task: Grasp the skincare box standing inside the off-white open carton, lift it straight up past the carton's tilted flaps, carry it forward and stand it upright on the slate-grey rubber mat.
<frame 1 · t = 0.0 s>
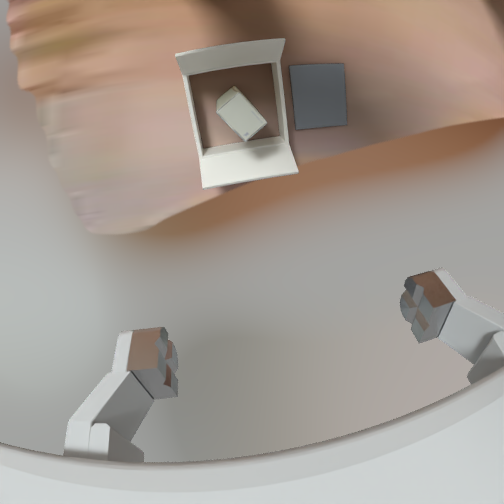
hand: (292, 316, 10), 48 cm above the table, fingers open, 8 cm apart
mat: (319, 95, 49), on the table
carton: (235, 104, 49), on the table
skincare box: (235, 104, 49), resting in carton
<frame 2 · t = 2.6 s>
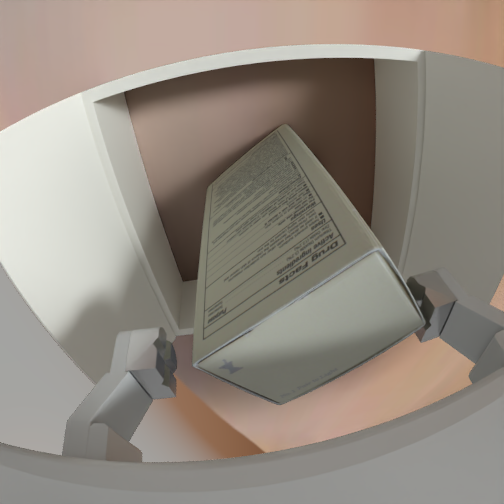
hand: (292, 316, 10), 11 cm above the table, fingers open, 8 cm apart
carton: (267, 176, 18), on the table
skincare box: (267, 175, 18), resting in carton
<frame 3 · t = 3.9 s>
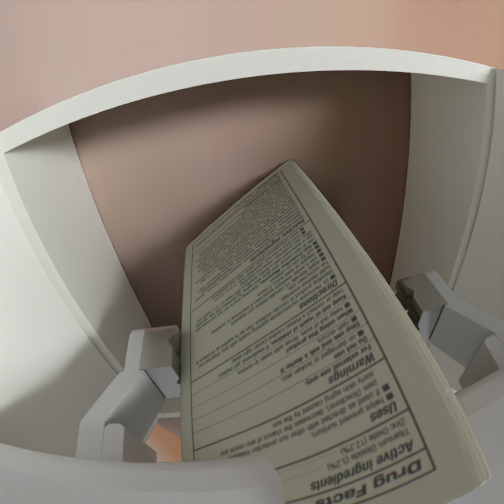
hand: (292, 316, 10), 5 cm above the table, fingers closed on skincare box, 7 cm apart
carton: (266, 230, 14), on the table
skincare box: (265, 227, 14), resting in carton, touching gripper
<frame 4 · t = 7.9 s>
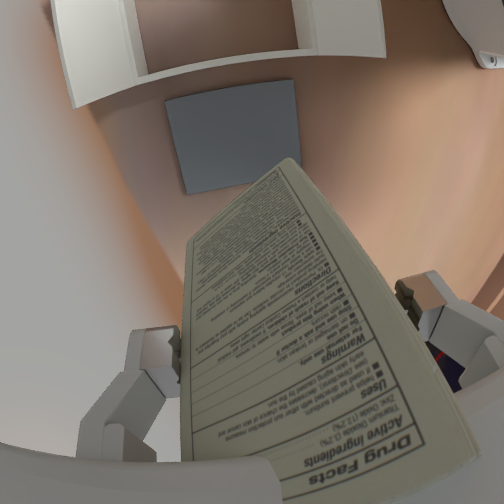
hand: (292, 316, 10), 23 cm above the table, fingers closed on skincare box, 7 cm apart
mat: (236, 136, 29), on the table
dark blue bottle: (445, 327, 56), on the table
skincare box: (264, 223, 14), point 18 cm above the table, touching gripper
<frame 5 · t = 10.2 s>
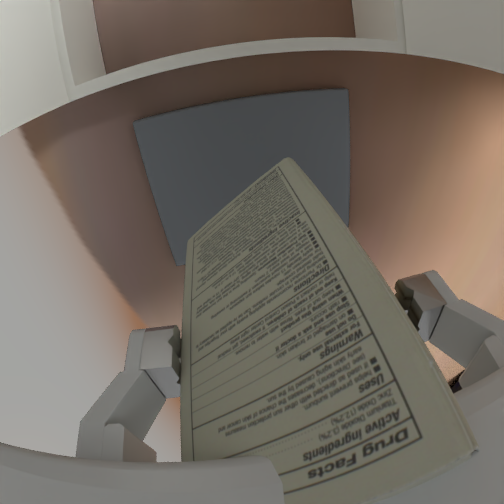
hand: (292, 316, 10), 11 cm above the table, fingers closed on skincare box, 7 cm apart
mat: (252, 178, 18), on the table
skincare box: (264, 222, 14), point 5 cm above the table, touching gripper
when the fingers open (7 cm above the table, at t = 12.1 s): skincare box stays where it is, resting on mat.
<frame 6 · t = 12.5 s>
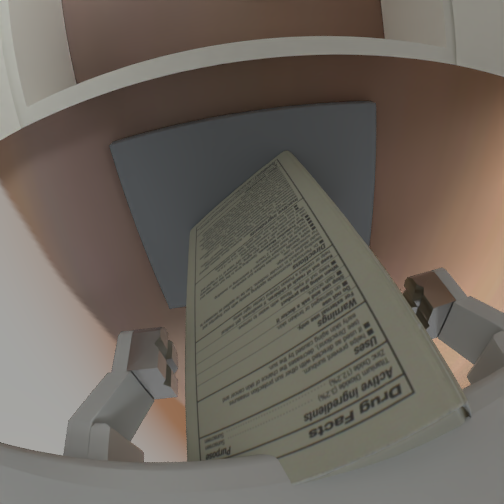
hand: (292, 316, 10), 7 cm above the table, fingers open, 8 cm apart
mat: (258, 210, 15), on the table
skincare box: (263, 213, 15), resting on mat
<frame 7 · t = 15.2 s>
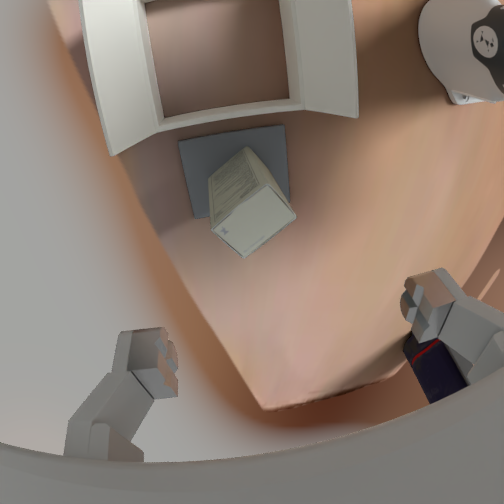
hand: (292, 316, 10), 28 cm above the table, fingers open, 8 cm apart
mat: (236, 171, 36), on the table
carton: (218, 46, 27), on the table
dark blue bottle: (423, 332, 64), on the table
skincare box: (238, 172, 35), resting on mat
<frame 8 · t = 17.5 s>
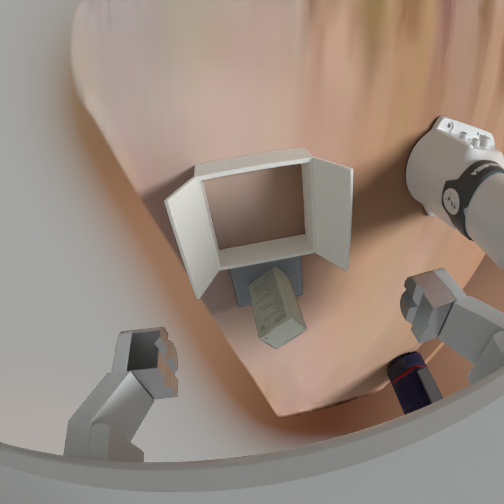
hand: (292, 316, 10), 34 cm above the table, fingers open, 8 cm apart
mat: (267, 278, 54), on the table
carton: (257, 203, 45), on the table
dark blue bottle: (403, 359, 82), on the table
skincare box: (269, 280, 54), resting on mat
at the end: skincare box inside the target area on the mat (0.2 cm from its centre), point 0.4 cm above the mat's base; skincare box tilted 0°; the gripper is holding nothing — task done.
